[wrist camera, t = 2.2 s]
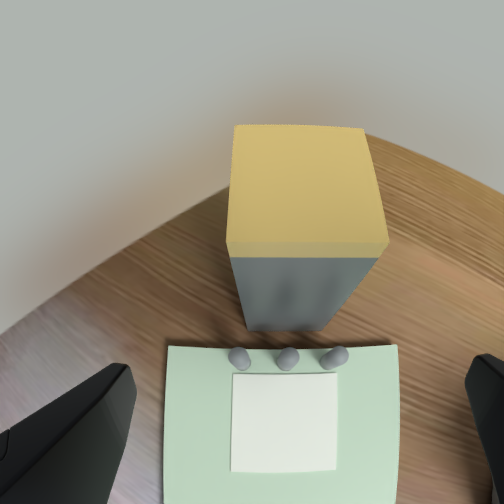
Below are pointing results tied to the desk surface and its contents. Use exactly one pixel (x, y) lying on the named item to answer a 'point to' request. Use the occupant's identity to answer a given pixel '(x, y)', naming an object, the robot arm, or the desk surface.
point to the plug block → (301, 222)
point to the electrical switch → (494, 496)
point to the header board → (281, 426)
